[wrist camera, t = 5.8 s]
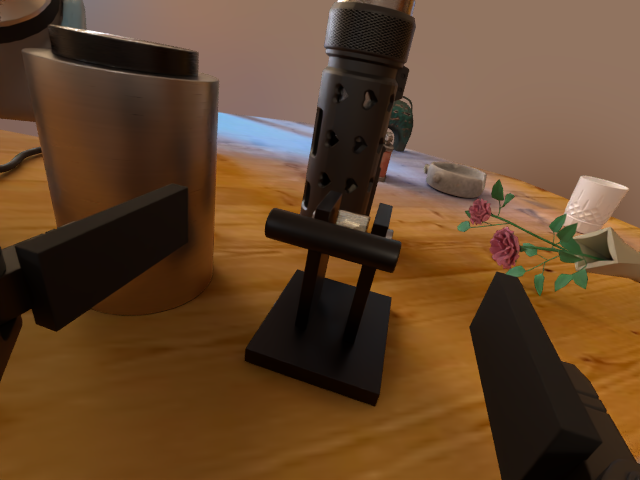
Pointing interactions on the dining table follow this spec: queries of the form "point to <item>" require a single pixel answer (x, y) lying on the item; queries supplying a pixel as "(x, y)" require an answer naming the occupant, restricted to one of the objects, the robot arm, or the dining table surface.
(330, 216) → the switch base
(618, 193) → the white cup
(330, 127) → the muzzle brake
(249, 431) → the dining table surface
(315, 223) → the switch lever
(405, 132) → the ceramic cat
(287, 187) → the dining table surface
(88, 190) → the metal tumbler
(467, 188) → the dish
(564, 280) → the flower vase
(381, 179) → the lighter
